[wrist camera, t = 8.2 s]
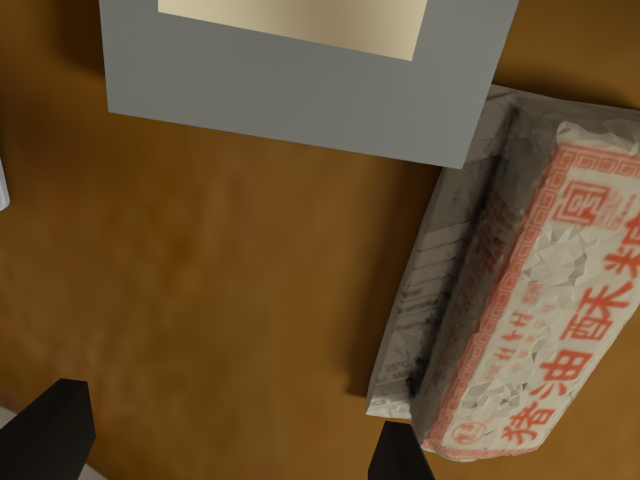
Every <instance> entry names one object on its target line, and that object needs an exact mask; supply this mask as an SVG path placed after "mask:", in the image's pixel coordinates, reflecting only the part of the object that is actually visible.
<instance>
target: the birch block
mask: <svg viewBox="0 0 640 480" xmlns="http://www.w3.org/2000/svg"><path fill="white" fill-rule="evenodd" d="M426 4H427V0H158V12H162V13H167V14H172V15H178V16H183V17H188V18H193V19H198V20H203V21H208V22H213V23H219V24H224V25H229V26H234V27H239V28H244V29H249V30H254V31H260V32H265V33H270V34H275V35H280V36H285V37H290V38H296V39H301V40H306V41H311V42H316V43H321V44H326V45H331V46H337V47H342V48H347V49H352V50H357V51H362V52H367V53H372V54H378V55H383V56H388V57H393V58H398V59H403V60H408V61H412V57H413V53H414V50H415V46H416V42H417V38H418V34H419V30H420V27H421V23H422V19H423V15H424V11H425V8H426Z"/></svg>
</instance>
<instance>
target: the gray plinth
mask: <svg viewBox="0 0 640 480" xmlns="http://www.w3.org/2000/svg"><path fill="white" fill-rule="evenodd" d="M518 2H519V0H427V4H426V8H425V11H424V15H423V19H422V23H421V27H420V30H419V34H418V38H417V42H416V46H415V50H414V53H413V57H412V61H408V60H403V59H398V58H393V57H388V56H383V55H378V54H372V53H367V52H362V51H357V50H352V49H347V48H342V47H337V46H331V45H326V44H321V43H316V42H311V41H306V40H301V39H296V38H290V37H285V36H280V35H275V34H270V33H265V32H260V31H254V30H249V29H244V28H239V27H234V26H229V25H224V24H219V23H213V22H208V21H203V20H198V19H193V18H188V17H183V16H178V15H172V14H167V13H162V12H158V0H99V7H100V18H101V30H102V42H103V54H104V65H105V77H106V89H107V100H108V112H111V113H118V114H124V115H130V116H136V117H142V118H148V119H154V120H161V121H167V122H173V123H179V124H185V125H191V126H197V127H204V128H210V129H216V130H222V131H228V132H234V133H240V134H247V135H253V136H259V137H265V138H271V139H277V140H283V141H290V142H296V143H302V144H308V145H314V146H320V147H326V148H333V149H339V150H345V151H351V152H357V153H363V154H369V155H376V156H382V157H388V158H394V159H400V160H406V161H413V162H419V163H425V164H431V165H437V166H443V167H449V168H456V169H462V168H463V165H464V162H465V159H466V156H467V153H468V150H469V147H470V144H471V141H472V138H473V135H474V132H475V129H476V126H477V123H478V121H479V118H480V115H481V112H482V109H483V106H484V103H485V100H486V97H487V94H488V91H489V88H490V85H491V82H492V79H493V76H494V73H495V70H496V67H497V64H498V61H499V58H500V56H501V53H502V50H503V47H504V44H505V41H506V38H507V35H508V32H509V29H510V26H511V23H512V20H513V17H514V14H515V11H516V8H517V5H518Z"/></svg>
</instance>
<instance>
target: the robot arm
mask: <svg viewBox="0 0 640 480" xmlns="http://www.w3.org/2000/svg"><path fill="white" fill-rule="evenodd" d="M9 203H10V199H9V195H8V190H7V186H6V181H5V177H4V172H3V168H2V163H1V159H0V211H1V210H3V209H4V208H6V207H7V206H8V205H9ZM95 438H96V434H95V427H94V421H93V415H92V408H91V402H90V396H89V389H88V383H87V382H86V381H78V380H71V379H63V378H61V379H59V380H58V381H56V382H55V383H54V384H53V385H52V386H51V387H49V388H48V389H47V390H46V391H45V392H44V393H42V394H41V395H40V396H39V397H38V398H37V399H35V400H34V401H33V402H32V403H31V404H30V405H28V406H27V407H26V408H25V409H24V410H23V411H21V412H20V413H19V414H18V415H17V416H16V417H14V418H13V419H12V420H11V421H10V422H8V423H7V424H6V425H5V426H4V427H3V428H1V429H0V480H78V478H79V475H80V473H81V471H82V469H83V466H84V464H85V462H86V459H87V457H88V455H89V452H90V450H91V447H92V445H93V443H94V440H95ZM368 480H436V479H435V477H434V475H433V473H432V471H431V469H430V466H429V464H428V462H427V460H426V457H425V455H424V453H423V451H422V448H421V446H420V444H419V441H418V439H417V437H416V434H415V432H414V429H413V427H412V426H411V425H410V424H406V423H398V422H390V421H385V424H384V427H383V429H382V432H381V435H380V438H379V441H378V443H377V446H376V449H375V452H374V455H373V458H372V460H371V463H370V466H369V469H368Z"/></svg>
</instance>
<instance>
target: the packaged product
mask: <svg viewBox="0 0 640 480" xmlns="http://www.w3.org/2000/svg"><path fill="white" fill-rule="evenodd" d="M639 304H640V111H638V110H633V109H626V108H619V107H611V106H604V105H597V104H590V103H583V102H576V101H568V100H561V99H556V98H552V97H548V96H543V95H539V94H534V93H530V92H525V91H521V90H517V89H512V88H508V87H503V86H499V85H494V84H491V85H490V88H489V91H488V94H487V97H486V100H485V103H484V106H483V109H482V112H481V115H480V118H479V121H478V123H477V126H476V129H475V132H474V135H473V138H472V141H471V144H470V147H469V150H468V153H467V156H466V159H465V162H464V165H463V168H462V169H456V168H449V167H443V168H442V170H441V173H440V175H439V178H438V181H437V183H436V186H435V188H434V191H433V193H432V196H431V199H430V201H429V204H428V206H427V209H426V212H425V214H424V217H423V219H422V222H421V225H420V229H419V232H418V235H417V238H416V241H415V243H414V246H413V249H412V252H411V255H410V258H409V261H408V263H407V266H406V269H405V272H404V274H403V277H402V280H401V283H400V286H399V289H398V292H397V295H396V298H395V301H394V304H393V307H392V310H391V313H390V317H389V319H388V322H387V325H386V328H385V331H384V335H383V338H382V342H381V345H380V348H379V352H378V355H377V358H376V362H375V365H374V369H373V372H372V375H371V379H370V383H369V387H368V394H367V402H366V414H367V415H373V416H381V417H390V418H404V419H411V420H412V427H413V429H414V432H415V434H416V437H417V439H418V441H419V444H420V446H421V448H422V449H423V450H426V451H428V452H434V453H436V454H438V455H439V456H441V457H443V458H446V459H449V460H453V461H459V462H470V461H475V460H477V459H486V458H493V457H499V456H503V455H506V456H509V455H512V456H516V455H519V454H523V453H528V452H532V451H535V450H537V449H538V448H539V447H540V445H541V444H542V443H543V442H544V441H545V439H546V438H547V436H548V435H549V433H550V432H551V431H552V429H553V428H554V427H555V425H556V424H557V422H558V421H559V419H560V418H561V417H562V415H563V414H564V412H565V411H566V410H567V408H568V407H569V405H570V404H571V403H572V401H573V400H574V398H575V397H576V396H577V394H578V392H579V391H580V389H581V388H582V386H583V385H584V383H585V382H586V380H587V379H588V377H589V376H590V375H591V373H592V372H593V371H594V369H595V368H596V366H597V365H598V363H599V362H600V360H601V359H602V357H603V356H604V354H605V353H606V351H607V350H608V348H609V347H610V346H611V345H612V343H613V342H614V340H615V339H616V337H617V336H618V334H619V333H620V331H621V330H622V328H623V327H624V325H625V324H626V323H627V321H628V320H629V319H630V318H631V316H632V315H633V313H634V312H635V310H636V309H637V307H638V305H639Z"/></svg>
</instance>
